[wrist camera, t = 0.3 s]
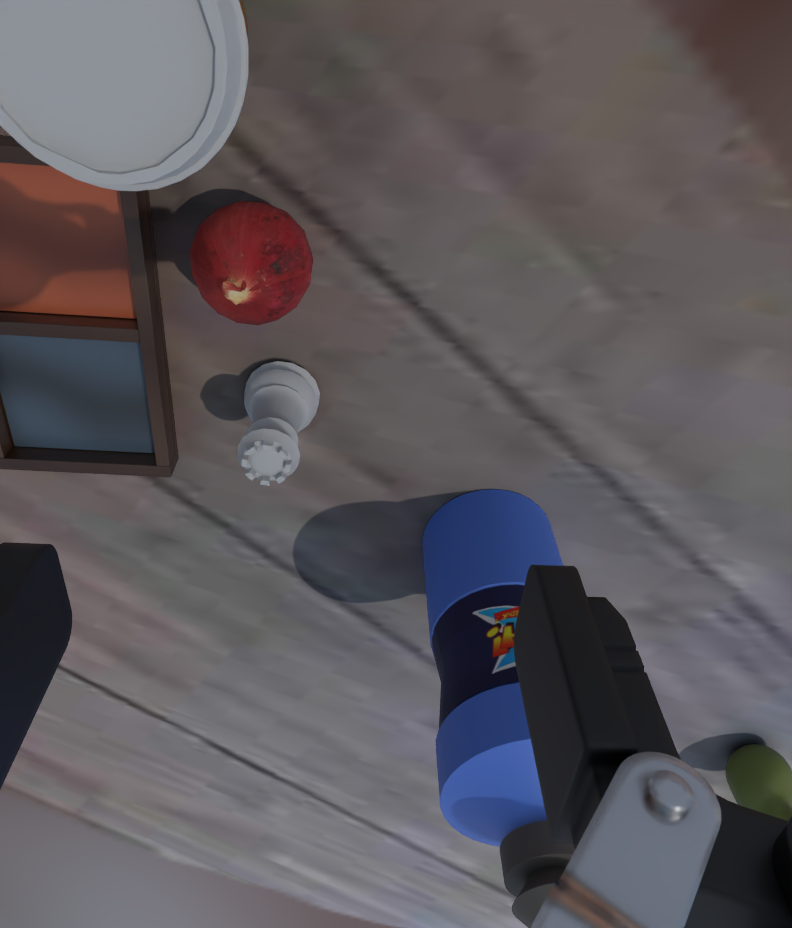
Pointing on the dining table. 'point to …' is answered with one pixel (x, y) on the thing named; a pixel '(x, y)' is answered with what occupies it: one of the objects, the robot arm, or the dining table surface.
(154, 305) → the tray
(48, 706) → the dining table surface
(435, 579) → the water bottle
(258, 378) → the rook chess piece
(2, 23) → the disposable coffee cup
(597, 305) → the dining table surface
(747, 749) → the pear
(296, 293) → the pomegranate
